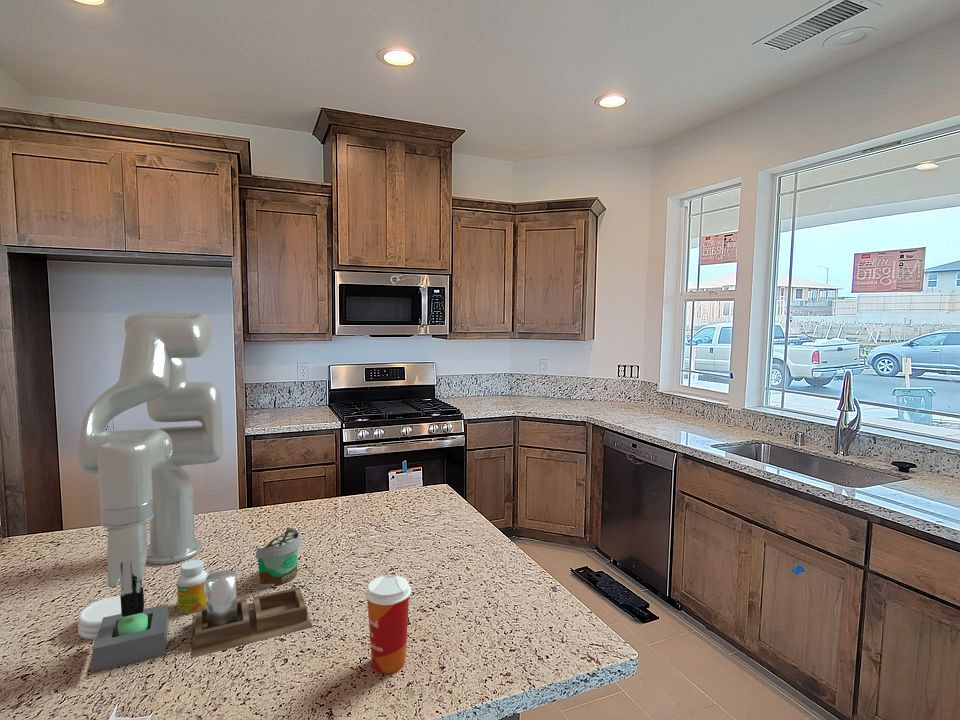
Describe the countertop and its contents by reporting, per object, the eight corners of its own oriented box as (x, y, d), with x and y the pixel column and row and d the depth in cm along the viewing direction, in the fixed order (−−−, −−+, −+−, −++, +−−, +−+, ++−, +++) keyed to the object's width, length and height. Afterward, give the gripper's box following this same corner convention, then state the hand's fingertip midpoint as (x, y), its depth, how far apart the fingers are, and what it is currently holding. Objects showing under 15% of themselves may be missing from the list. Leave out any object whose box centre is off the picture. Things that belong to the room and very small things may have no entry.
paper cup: (368, 650, 94) (368, 574, 93) (412, 648, 94) (412, 572, 93) (362, 680, 86) (362, 598, 85) (410, 677, 87) (410, 596, 85)
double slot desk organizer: (193, 621, 102) (192, 603, 102) (300, 596, 111) (300, 580, 111) (191, 663, 90) (190, 644, 89) (312, 632, 99) (312, 614, 98)
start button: (120, 641, 93) (119, 617, 93) (149, 634, 95) (148, 611, 95) (116, 655, 89) (115, 630, 89) (147, 648, 92) (146, 623, 91)
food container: (282, 597, 111) (281, 551, 110) (256, 594, 112) (255, 549, 111) (312, 570, 123) (311, 528, 122) (288, 567, 124) (287, 526, 123)
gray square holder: (104, 644, 95) (103, 617, 94) (168, 629, 99) (167, 603, 99) (94, 678, 86) (92, 649, 85) (165, 660, 90) (164, 632, 90)
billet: (207, 624, 99) (205, 573, 98) (236, 618, 101) (235, 568, 101) (207, 639, 95) (205, 586, 94) (238, 632, 97) (236, 579, 96)
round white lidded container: (141, 630, 99) (140, 612, 99) (75, 647, 94) (73, 628, 94) (142, 605, 108) (141, 588, 107) (81, 619, 103) (80, 602, 102)
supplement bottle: (173, 619, 102) (171, 571, 102) (183, 605, 108) (181, 559, 107) (203, 617, 103) (202, 569, 103) (212, 602, 109) (210, 557, 108)
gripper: (108, 500, 95) (113, 596, 97) (92, 532, 82) (99, 642, 84) (156, 494, 99) (161, 587, 101) (149, 524, 86) (154, 630, 88)
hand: (133, 612), depth 92 cm, fingers closed
